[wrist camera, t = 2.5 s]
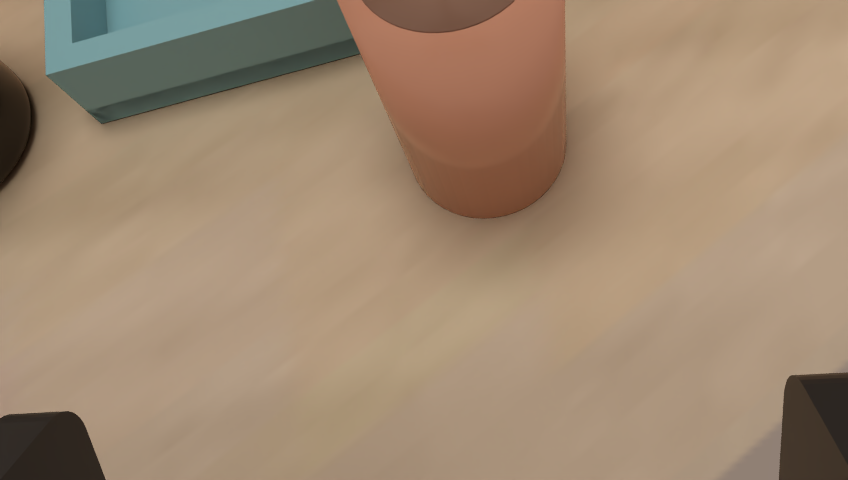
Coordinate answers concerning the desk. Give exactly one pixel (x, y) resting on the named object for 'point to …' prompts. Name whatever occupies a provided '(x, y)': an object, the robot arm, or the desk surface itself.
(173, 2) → the teal tray
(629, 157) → the desk surface
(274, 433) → the desk surface
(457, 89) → the terracotta cup
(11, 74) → the supplement bottle
